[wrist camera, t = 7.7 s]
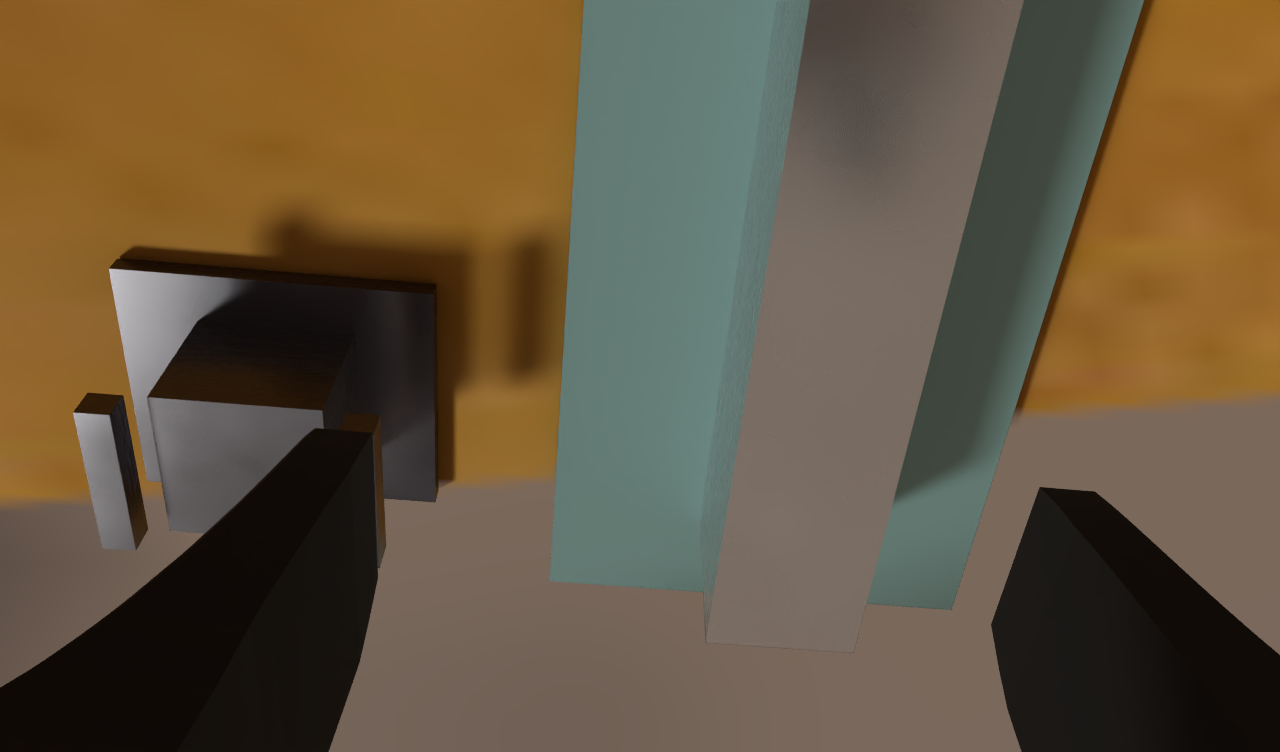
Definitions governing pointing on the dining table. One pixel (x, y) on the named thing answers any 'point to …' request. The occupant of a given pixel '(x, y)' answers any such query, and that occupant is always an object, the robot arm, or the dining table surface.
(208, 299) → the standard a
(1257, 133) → the dining table surface
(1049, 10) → the mat
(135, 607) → the robot arm
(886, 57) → the rail
